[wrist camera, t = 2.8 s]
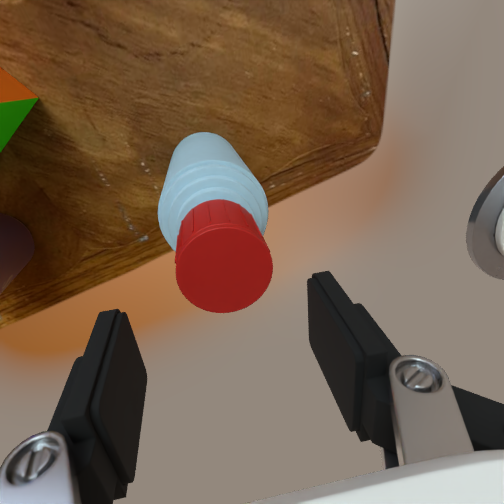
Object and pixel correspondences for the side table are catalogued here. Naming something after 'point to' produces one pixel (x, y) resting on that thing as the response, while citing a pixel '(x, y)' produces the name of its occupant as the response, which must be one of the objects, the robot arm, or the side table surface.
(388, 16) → the side table surface
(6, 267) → the beverage can
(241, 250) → the cap
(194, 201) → the bottle
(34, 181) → the side table surface
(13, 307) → the side table surface
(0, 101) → the cube
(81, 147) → the side table surface
